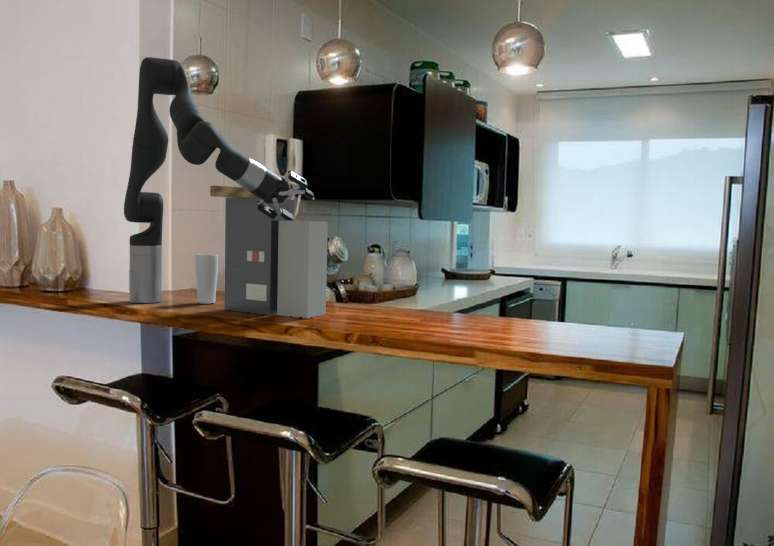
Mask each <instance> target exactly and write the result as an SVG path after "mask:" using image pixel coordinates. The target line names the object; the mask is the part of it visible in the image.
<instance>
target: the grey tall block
mask: <svg viewBox="0 0 774 546" xmlns="http://www.w3.org/2000/svg"><path fill="white" fill-rule="evenodd" d="M328 225H329V223H328V221H314V220H313V221H312V220H310V221H309V220H307V221H306V220H294V221H281V220H279V231H278V291H277V314H276V316H282V317H283V316H284V317H290V316H292V317H291V318H299V317H302V319H312V318H315V317H316V316H317V317H321V316H325V315H326V314H327V307H326V306H327V276H328V273H327V271H328V269H327V268H328V235H329V234H328V233H329V232H328V231H329V230H328V228H329V227H328ZM311 317H312V318H311Z"/></svg>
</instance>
